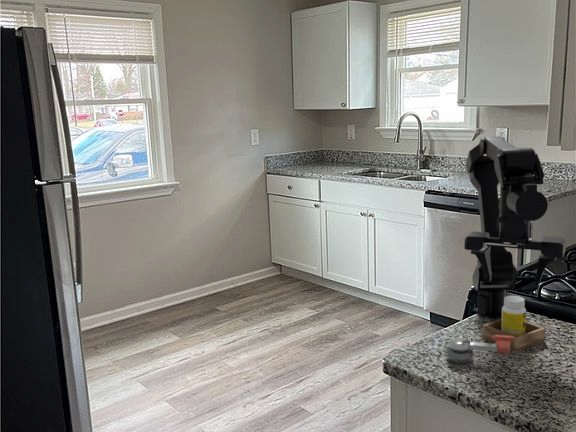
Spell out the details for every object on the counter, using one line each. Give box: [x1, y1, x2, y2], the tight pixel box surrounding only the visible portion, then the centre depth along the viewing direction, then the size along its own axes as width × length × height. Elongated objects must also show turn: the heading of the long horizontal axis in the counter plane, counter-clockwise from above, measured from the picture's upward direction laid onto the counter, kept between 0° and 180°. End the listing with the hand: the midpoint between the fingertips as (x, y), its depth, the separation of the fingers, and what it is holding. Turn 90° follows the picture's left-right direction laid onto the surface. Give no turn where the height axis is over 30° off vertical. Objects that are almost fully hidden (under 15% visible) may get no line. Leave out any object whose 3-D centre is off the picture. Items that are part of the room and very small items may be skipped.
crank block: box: [446, 346, 474, 366], centre depth 112 cm, size 5×5×2 cm
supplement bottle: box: [501, 295, 527, 337], centre depth 119 cm, size 5×5×8 cm
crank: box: [449, 335, 514, 356], centre depth 110 cm, size 12×4×3 cm, turn 74°
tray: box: [482, 318, 546, 353], centre depth 119 cm, size 9×9×3 cm
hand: (512, 283), depth 117 cm, fingers open, 9 cm apart
